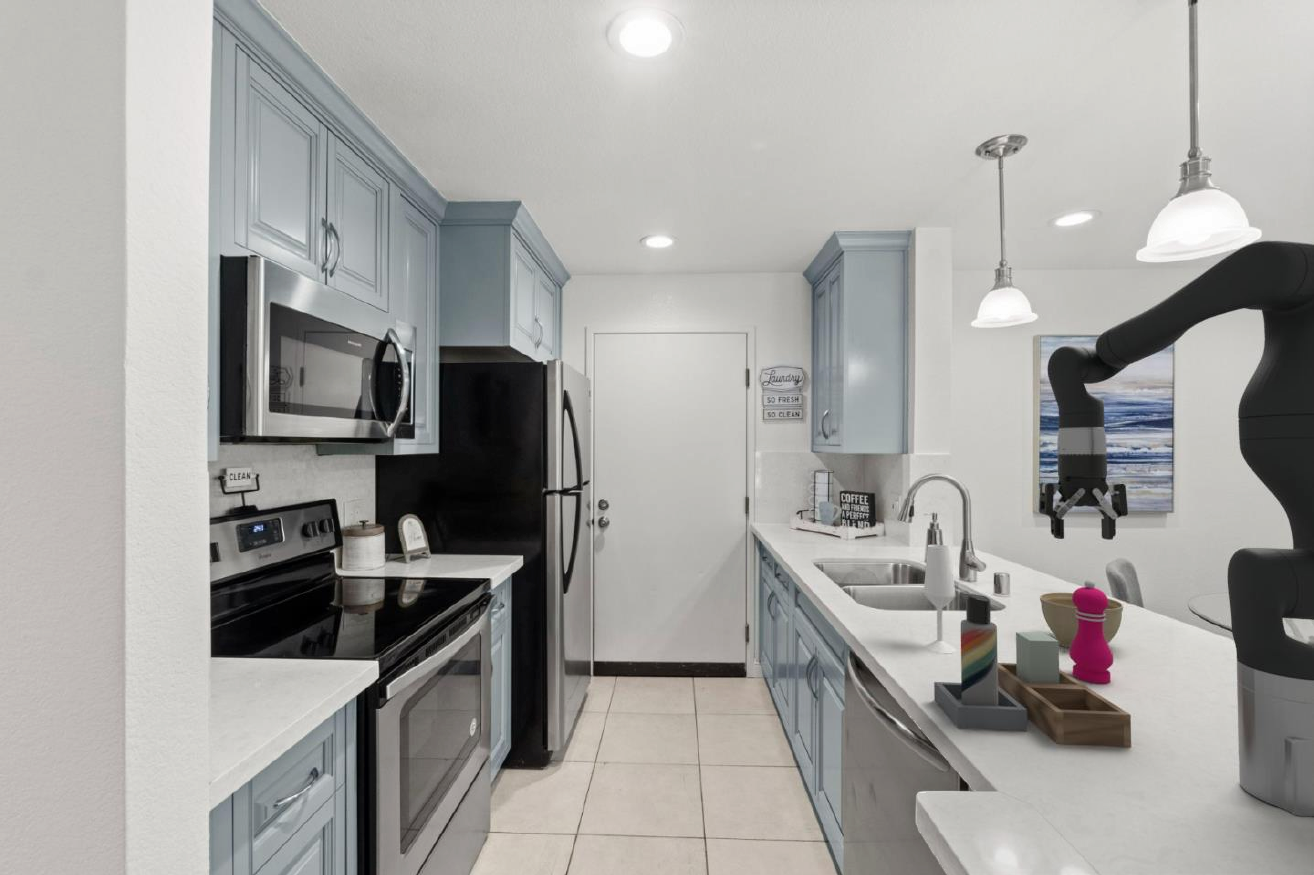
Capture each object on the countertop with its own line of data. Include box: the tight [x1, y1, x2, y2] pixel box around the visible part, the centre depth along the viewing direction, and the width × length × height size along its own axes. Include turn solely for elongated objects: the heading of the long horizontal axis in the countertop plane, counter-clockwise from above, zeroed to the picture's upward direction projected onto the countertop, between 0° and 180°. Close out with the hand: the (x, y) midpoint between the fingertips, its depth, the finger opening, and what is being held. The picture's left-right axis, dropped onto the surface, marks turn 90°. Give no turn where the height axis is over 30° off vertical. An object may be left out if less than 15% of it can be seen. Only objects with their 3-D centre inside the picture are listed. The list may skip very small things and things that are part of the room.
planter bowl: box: [1039, 592, 1124, 649], centre depth 142 cm, size 16×16×11 cm
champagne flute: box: [923, 544, 957, 654], centre depth 140 cm, size 7×7×24 cm
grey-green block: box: [1015, 631, 1060, 684], centre depth 111 cm, size 5×5×12 cm
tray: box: [933, 681, 1028, 732], centre depth 105 cm, size 11×11×4 cm
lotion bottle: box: [960, 593, 999, 706], centre depth 105 cm, size 6×6×20 cm
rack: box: [998, 662, 1132, 748], centre depth 105 cm, size 22×11×5 cm, turn 174°
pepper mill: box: [1069, 579, 1114, 685], centre depth 122 cm, size 7×7×20 cm
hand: (1083, 538), depth 111 cm, fingers open, 8 cm apart
